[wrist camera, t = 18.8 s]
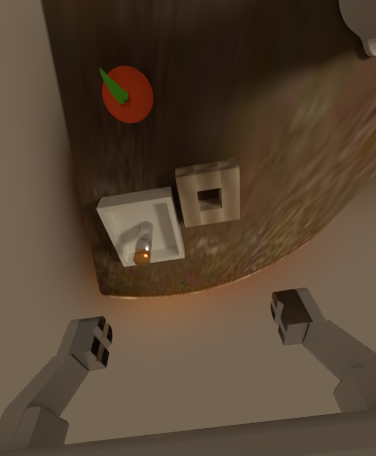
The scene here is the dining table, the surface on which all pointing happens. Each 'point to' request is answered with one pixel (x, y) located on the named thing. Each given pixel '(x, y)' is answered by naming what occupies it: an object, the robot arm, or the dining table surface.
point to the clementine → (127, 94)
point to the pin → (143, 244)
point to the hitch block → (205, 180)
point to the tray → (138, 212)
